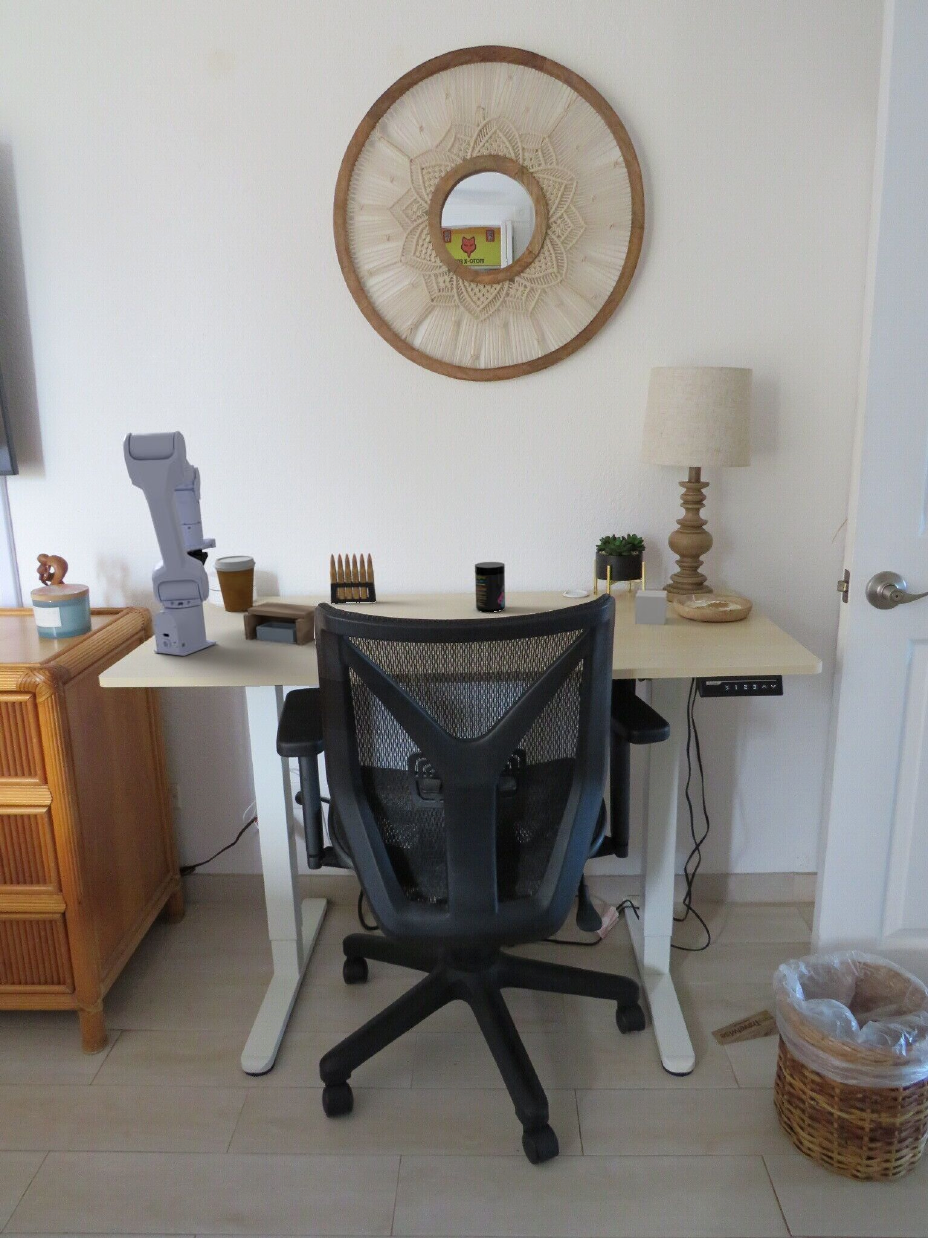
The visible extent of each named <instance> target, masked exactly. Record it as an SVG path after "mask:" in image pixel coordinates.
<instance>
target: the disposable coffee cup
mask: <svg viewBox="0 0 928 1238" xmlns="http://www.w3.org/2000/svg"><path fill="white" fill-rule="evenodd" d="M255 567H256V561H255V560H254V557H253V556H251V555H229V556H228V555H227V556H221V557H219V558H216V559H214V565H213V568H214V569H215V571H216V575H217V579H218V585H219V589H220V591H221V597H222V602H223V605H224V610H225V611H226V612H230V613H239V612H241V613H242V612H246V610H247V611H248V609H249V608H252V607H254V606H253V605H254V583H255V582H254V579H255V578H254V576H255Z"/></svg>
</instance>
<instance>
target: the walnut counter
mask: <svg viewBox="0 0 928 1238" xmlns="http://www.w3.org/2000/svg"><path fill="white" fill-rule="evenodd" d="M315 607H316V605H307V604H306V605H304V604H295V603H294V604H293V603H284V602H283V603H282V602H273V601H272V602H271V601H267V602H264V603H260V604H258V605H255V606H253V607H252V608H249V609H248V610H247V613H246V614H243V616H242V618H243V625H244V636H245V639H246V640H251V639H254V638H257V629H256V627H257V626H260V625H263V624H265V623H268V622H270V621H276V622H286V623H296V632H297V642H296V643H297V646H303V645H306V644H307V642H308V643H310V642H313V641H314V609H315Z"/></svg>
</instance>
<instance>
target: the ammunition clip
mask: <svg viewBox="0 0 928 1238" xmlns="http://www.w3.org/2000/svg"><path fill="white" fill-rule="evenodd" d="M352 554H353V555H352V559H351V561H350V557H349V554H348V553H346V554H345V558H344V565H343V558H342V555H341V554H340V553H338V556H337V566H336V560H335V556H334V554H333V553H331V555H330V559H329V562H330V566H329V567H330V568H329V575H330V576H329V579H330V604H331V605H333V604H332V603H335V604H334V605H339V604H338V603H346V602H356V603H357V602H359V603H360V602H375V601H376V602H377V595H376V587H375V586H376V585H375V575H374V573H375V570H374V567H373V566H374V565H373V559H372V555H371V553H367V558H366V560H367V561H366V562H365V557H364V554H363V553H360V556H359V567H358V560H357V556H356V553H352ZM365 563H366V564H367V565H366V564H365ZM351 564H352V565H351ZM351 566H352V567H351Z"/></svg>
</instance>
